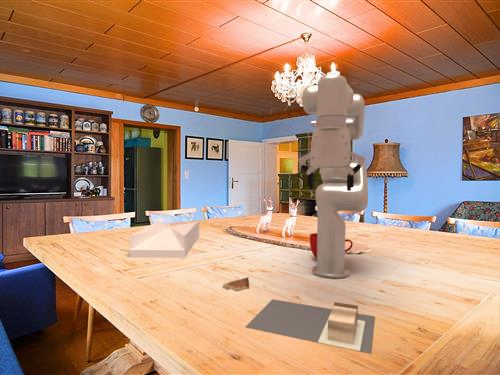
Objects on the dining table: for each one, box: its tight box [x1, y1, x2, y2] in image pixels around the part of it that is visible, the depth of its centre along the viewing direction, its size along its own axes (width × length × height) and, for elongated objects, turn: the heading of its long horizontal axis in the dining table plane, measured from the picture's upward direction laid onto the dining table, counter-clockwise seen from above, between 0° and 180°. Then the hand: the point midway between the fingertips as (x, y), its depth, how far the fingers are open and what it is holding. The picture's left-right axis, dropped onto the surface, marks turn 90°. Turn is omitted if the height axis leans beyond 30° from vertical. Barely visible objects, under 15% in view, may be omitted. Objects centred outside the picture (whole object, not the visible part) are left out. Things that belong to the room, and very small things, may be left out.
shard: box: [222, 276, 250, 292], centre depth 100 cm, size 11×8×2 cm
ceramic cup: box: [309, 232, 354, 259], centre depth 132 cm, size 13×17×10 cm
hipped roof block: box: [129, 220, 200, 259], centre depth 156 cm, size 45×22×10 cm, turn 1°
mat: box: [245, 298, 376, 355], centre depth 75 cm, size 18×26×1 cm
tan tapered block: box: [328, 301, 359, 344], centre depth 70 cm, size 10×5×4 cm, turn 157°
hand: (330, 190), depth 86 cm, fingers open, 9 cm apart
